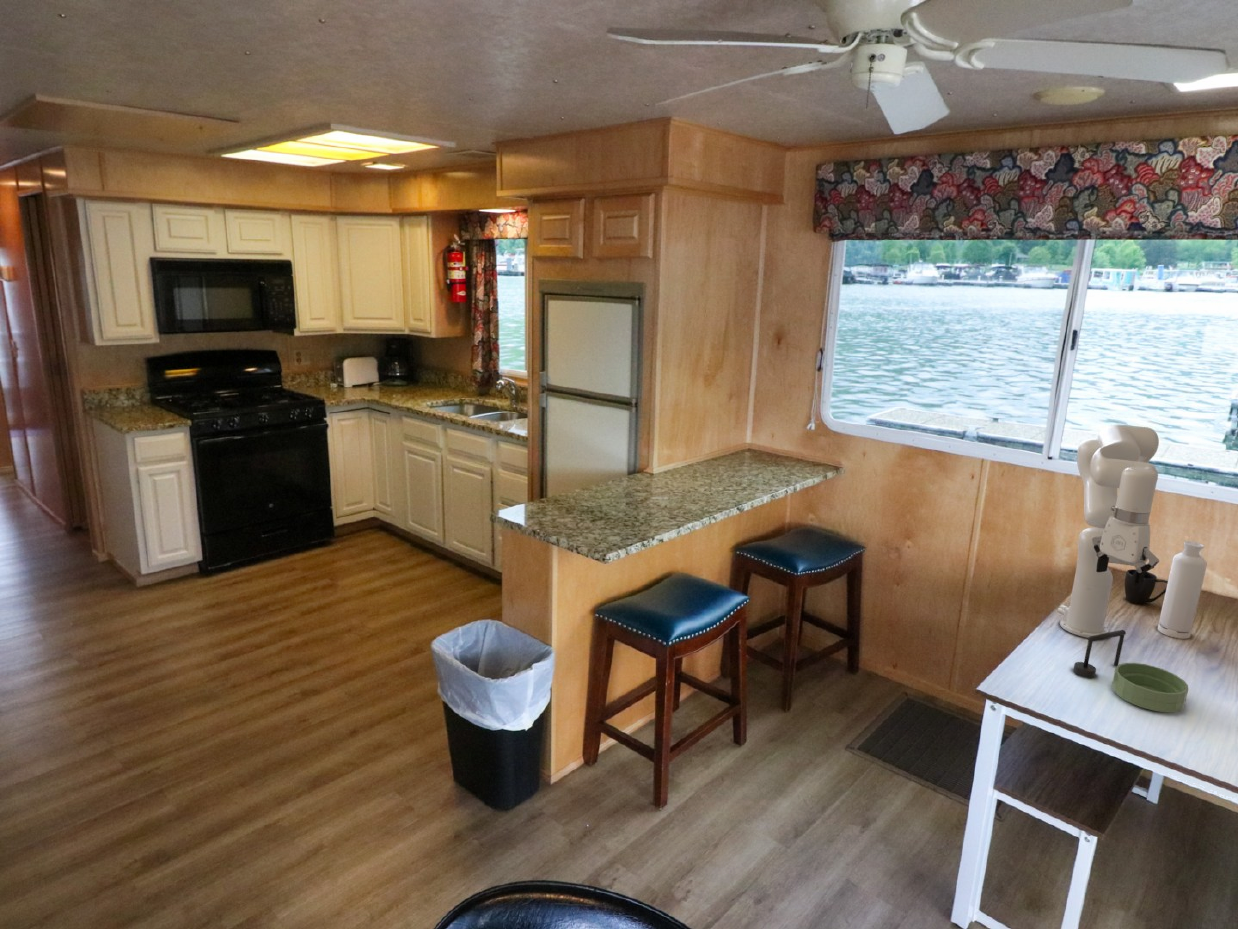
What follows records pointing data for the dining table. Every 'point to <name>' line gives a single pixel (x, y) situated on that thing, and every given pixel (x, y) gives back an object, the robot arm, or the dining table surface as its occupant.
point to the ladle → (1083, 667)
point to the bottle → (1183, 591)
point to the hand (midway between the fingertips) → (1118, 578)
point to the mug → (1141, 588)
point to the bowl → (1150, 687)
